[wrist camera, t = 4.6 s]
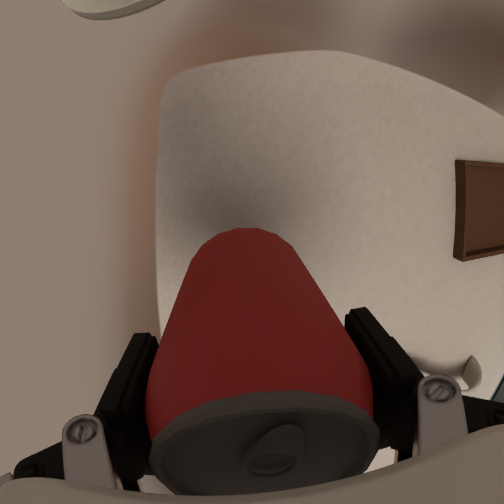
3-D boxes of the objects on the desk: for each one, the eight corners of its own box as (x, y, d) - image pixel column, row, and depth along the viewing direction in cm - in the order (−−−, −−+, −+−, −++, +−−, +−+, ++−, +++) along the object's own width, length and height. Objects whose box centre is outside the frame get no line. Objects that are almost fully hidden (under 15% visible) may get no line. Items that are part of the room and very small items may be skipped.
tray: (454, 159, 28) (465, 160, 27) (516, 165, 29) (525, 166, 27) (453, 257, 32) (462, 262, 30) (513, 245, 32) (521, 249, 30)
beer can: (315, 235, 16) (448, 377, 5) (288, 337, 18) (339, 513, 7) (195, 215, 16) (110, 352, 4) (182, 323, 18) (139, 506, 6)
